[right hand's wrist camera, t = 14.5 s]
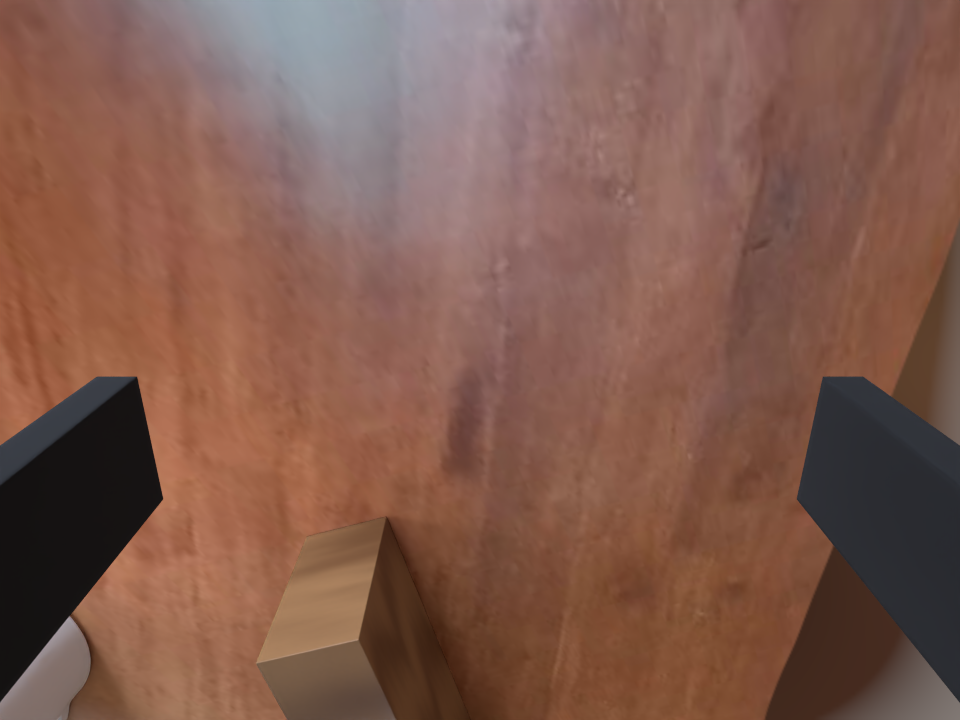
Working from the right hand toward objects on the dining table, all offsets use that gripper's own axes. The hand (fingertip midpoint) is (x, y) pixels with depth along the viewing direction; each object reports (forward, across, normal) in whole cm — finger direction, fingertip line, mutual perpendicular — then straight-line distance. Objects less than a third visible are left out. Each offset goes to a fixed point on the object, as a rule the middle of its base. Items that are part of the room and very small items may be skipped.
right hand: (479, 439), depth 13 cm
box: (+29, -6, -36) cm, 46 cm away
